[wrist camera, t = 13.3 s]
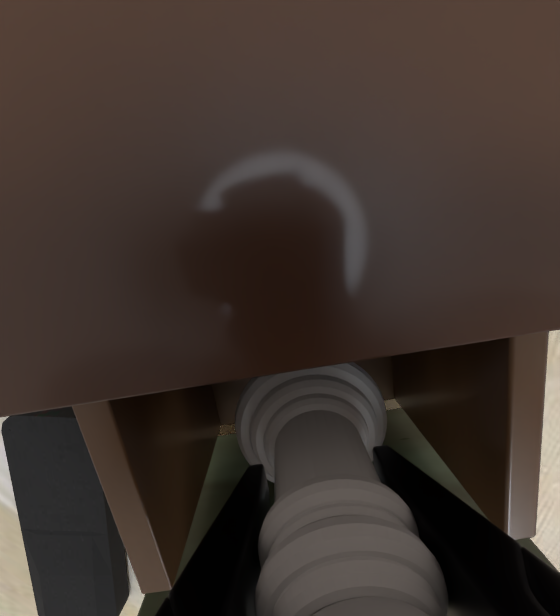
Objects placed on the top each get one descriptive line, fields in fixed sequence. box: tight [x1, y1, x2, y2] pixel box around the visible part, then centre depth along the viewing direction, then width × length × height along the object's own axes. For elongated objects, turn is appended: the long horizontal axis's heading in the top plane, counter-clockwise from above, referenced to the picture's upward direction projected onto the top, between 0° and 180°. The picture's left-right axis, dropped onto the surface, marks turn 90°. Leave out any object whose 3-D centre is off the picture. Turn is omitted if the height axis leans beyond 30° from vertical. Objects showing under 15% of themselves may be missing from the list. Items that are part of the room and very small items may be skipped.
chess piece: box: [235, 362, 448, 616], centre depth 6 cm, size 5×5×9 cm
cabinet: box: [0, 0, 560, 417], centre depth 7 cm, size 15×13×10 cm
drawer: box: [72, 331, 558, 616], centre depth 10 cm, size 18×11×8 cm, turn 9°
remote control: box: [1, 406, 129, 616], centre depth 16 cm, size 5×2×15 cm
